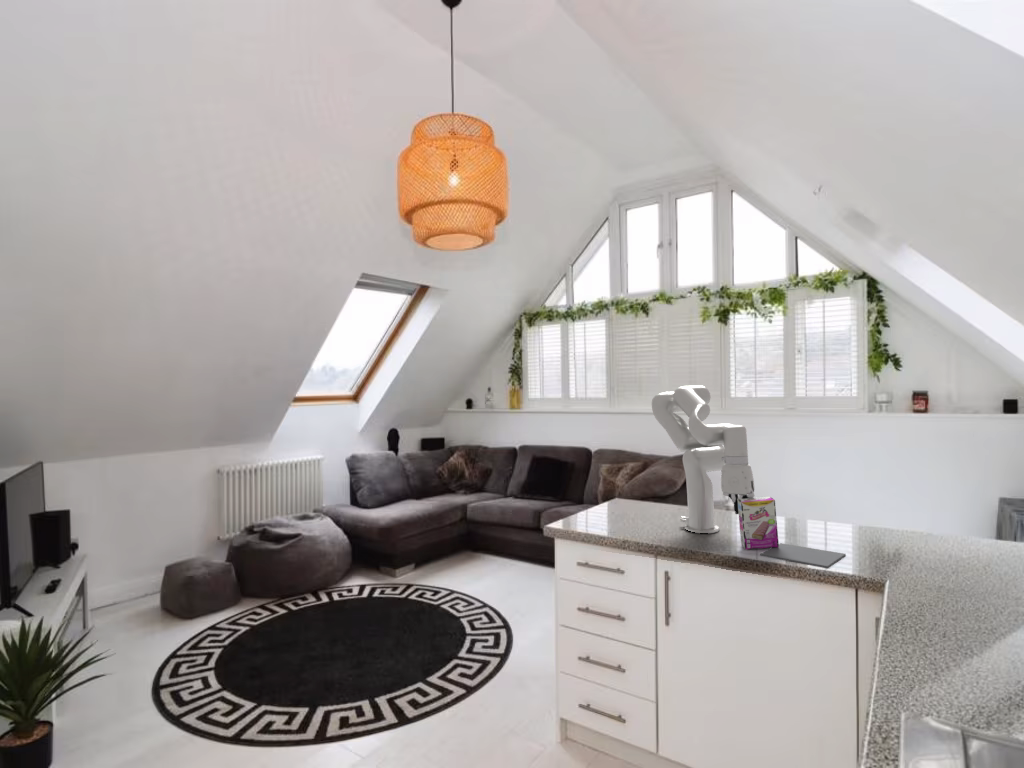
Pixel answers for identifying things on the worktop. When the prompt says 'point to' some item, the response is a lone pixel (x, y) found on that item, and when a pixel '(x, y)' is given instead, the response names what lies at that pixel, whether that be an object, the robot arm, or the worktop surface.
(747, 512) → the candy bar box
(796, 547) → the mat
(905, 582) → the worktop surface
